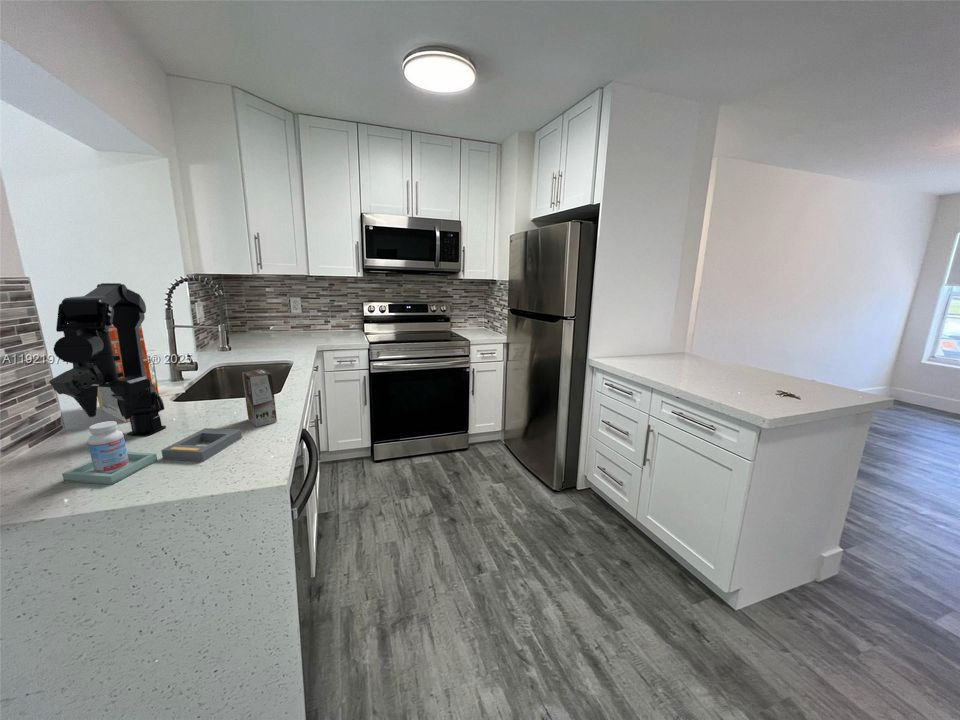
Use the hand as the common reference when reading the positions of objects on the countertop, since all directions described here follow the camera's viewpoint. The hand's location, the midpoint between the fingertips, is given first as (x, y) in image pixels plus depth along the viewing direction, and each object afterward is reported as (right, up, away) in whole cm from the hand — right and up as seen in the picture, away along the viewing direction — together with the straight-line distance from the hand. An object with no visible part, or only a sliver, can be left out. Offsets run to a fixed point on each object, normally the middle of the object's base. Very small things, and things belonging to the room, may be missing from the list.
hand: (110, 417), depth 89 cm
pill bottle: (0, -13, +1) cm, 13 cm away
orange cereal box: (-31, -4, +38) cm, 49 cm away
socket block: (+13, -10, +13) cm, 21 cm away
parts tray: (0, -13, +1) cm, 13 cm away
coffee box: (+17, -6, +32) cm, 37 cm away
